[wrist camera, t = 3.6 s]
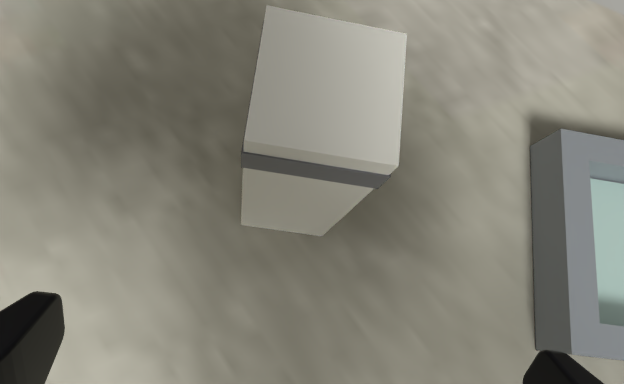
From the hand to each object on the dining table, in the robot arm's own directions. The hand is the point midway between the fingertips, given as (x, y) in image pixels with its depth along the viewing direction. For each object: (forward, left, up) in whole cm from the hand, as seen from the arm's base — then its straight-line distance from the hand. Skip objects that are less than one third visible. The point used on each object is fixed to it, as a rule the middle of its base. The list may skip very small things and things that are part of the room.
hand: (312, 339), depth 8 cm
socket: (+19, -5, -13) cm, 23 cm away
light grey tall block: (+3, +5, -13) cm, 14 cm away
